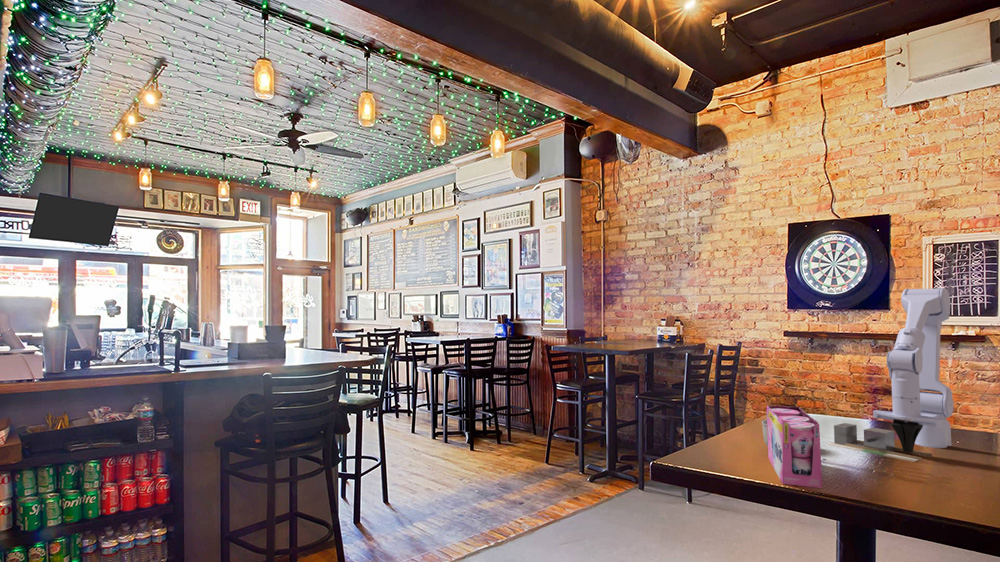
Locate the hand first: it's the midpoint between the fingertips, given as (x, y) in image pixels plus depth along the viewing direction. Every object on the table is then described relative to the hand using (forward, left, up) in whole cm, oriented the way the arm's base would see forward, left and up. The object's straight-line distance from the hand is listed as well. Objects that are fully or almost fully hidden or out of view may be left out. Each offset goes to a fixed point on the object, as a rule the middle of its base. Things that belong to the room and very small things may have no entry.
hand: (908, 451), depth 136 cm
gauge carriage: (+2, -6, -1) cm, 7 cm away
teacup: (+17, -23, -2) cm, 28 cm away
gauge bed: (0, -7, -2) cm, 7 cm away
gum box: (+34, -10, -2) cm, 36 cm away
